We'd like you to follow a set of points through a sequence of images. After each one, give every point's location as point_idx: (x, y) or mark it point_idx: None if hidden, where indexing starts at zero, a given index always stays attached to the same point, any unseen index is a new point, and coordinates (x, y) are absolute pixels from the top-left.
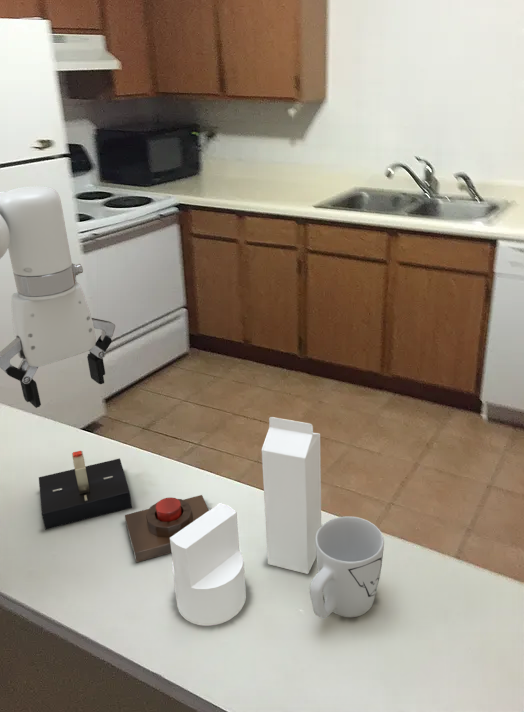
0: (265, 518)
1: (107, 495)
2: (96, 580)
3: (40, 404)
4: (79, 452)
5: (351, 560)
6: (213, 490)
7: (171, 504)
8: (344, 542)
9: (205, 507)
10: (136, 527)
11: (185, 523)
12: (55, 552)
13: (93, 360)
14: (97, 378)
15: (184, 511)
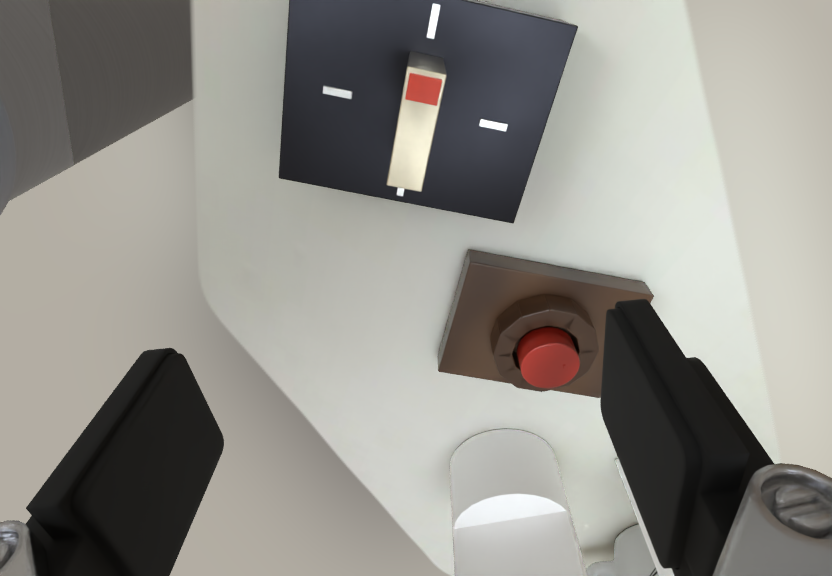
0: (649, 550)
1: (457, 203)
2: (359, 355)
3: (220, 450)
4: (432, 91)
5: None
6: (697, 254)
7: (557, 370)
8: None
9: None
10: (473, 313)
11: None
12: (301, 248)
13: (668, 543)
14: (612, 424)
15: None
